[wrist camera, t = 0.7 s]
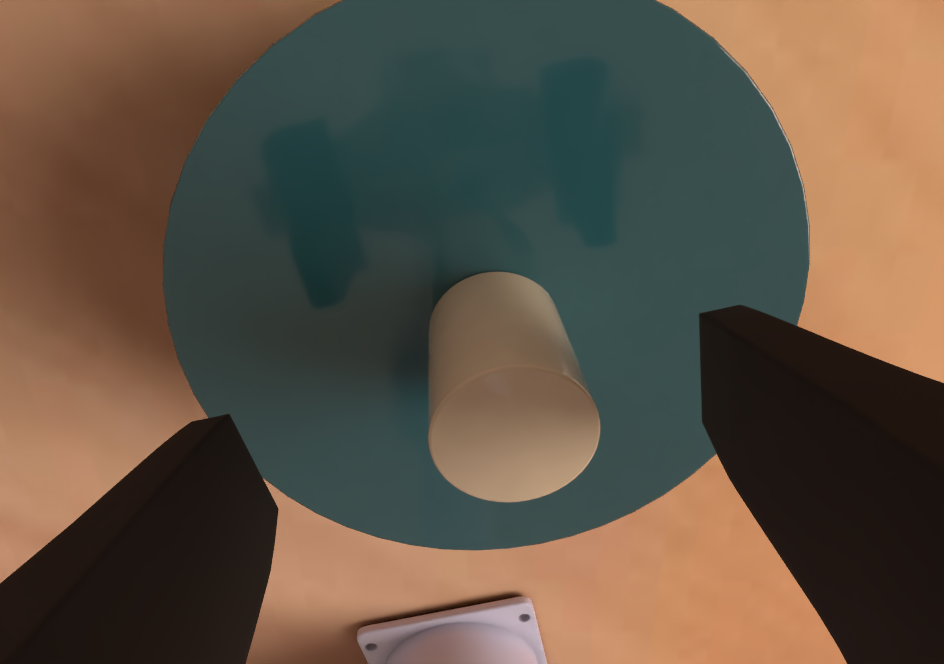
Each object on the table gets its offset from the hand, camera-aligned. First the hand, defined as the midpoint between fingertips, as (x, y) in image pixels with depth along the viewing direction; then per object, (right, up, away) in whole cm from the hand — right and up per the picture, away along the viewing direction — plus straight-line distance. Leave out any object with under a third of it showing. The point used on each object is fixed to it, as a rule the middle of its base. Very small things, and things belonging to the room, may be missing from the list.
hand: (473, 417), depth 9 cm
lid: (0, +2, +4) cm, 4 cm away
